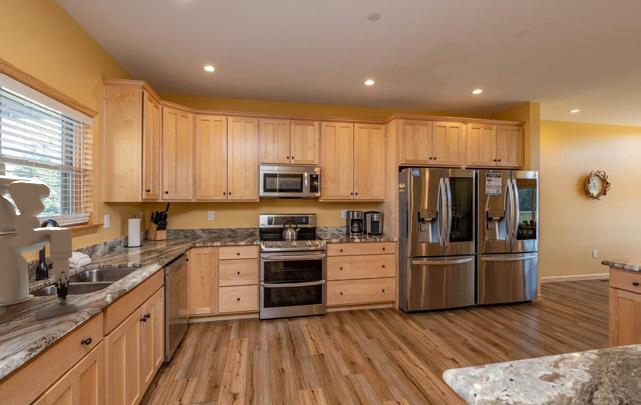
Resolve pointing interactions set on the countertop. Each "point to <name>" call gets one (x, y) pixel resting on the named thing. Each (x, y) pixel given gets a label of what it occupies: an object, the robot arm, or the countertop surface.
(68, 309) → the charcoal mat
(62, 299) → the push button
